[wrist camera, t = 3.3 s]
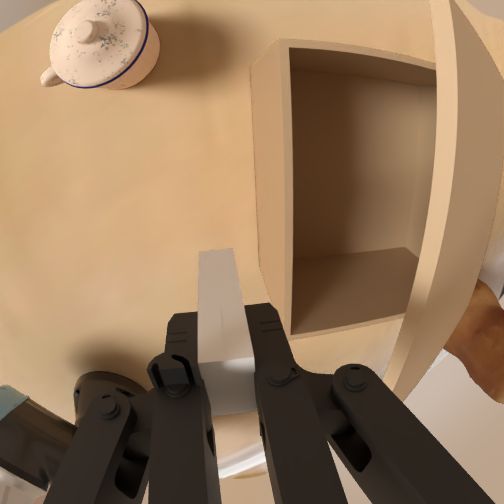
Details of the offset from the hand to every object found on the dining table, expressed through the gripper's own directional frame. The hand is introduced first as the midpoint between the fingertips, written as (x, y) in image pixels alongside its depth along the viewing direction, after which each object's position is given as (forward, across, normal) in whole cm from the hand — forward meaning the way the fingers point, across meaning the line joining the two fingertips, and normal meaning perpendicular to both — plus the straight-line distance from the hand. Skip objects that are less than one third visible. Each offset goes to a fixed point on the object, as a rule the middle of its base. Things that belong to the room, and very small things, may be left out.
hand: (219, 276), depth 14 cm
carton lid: (+2, -17, 0) cm, 17 cm away
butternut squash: (+22, -39, +23) cm, 50 cm away
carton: (+21, -16, 0) cm, 27 cm away
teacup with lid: (+22, +10, -15) cm, 28 cm away
